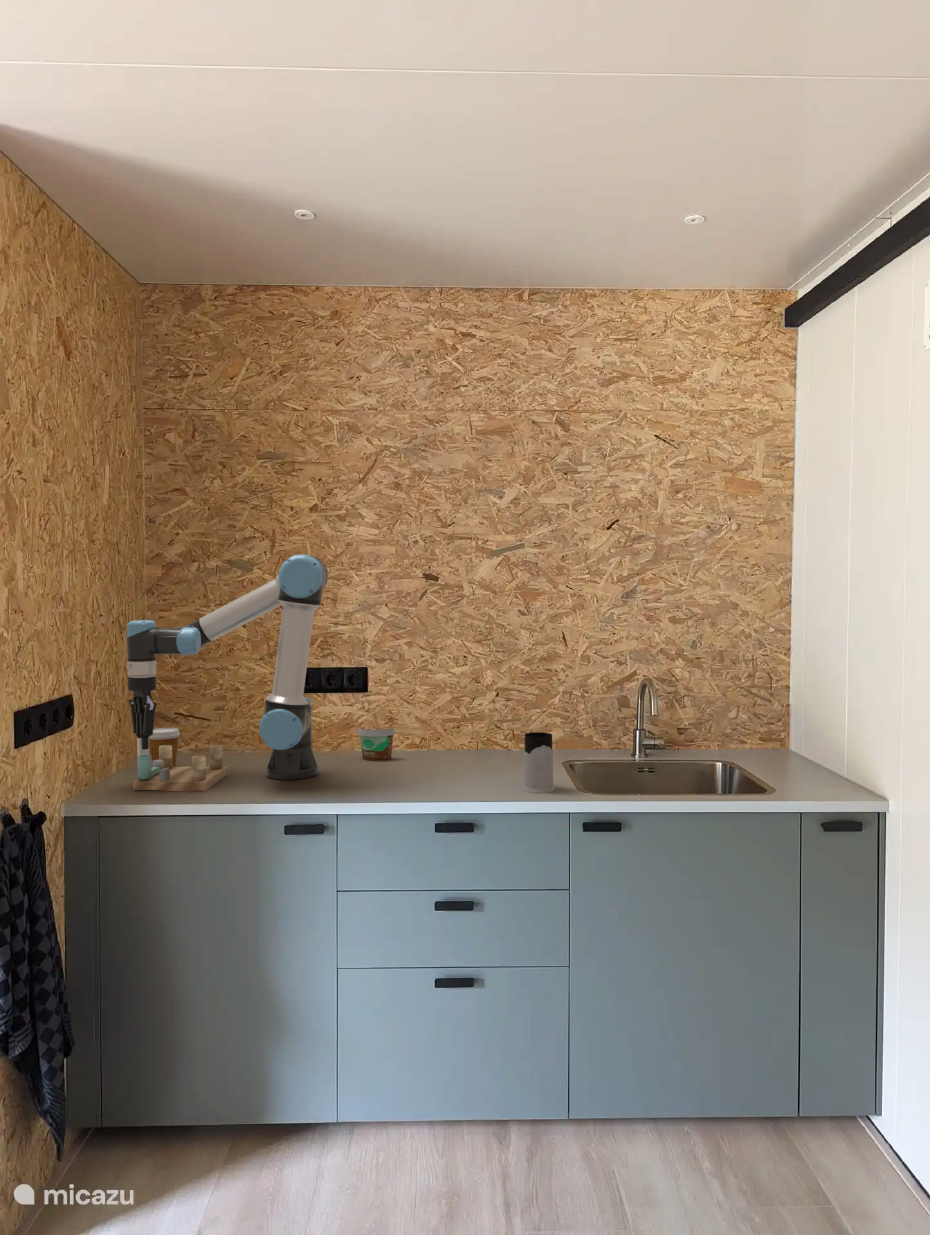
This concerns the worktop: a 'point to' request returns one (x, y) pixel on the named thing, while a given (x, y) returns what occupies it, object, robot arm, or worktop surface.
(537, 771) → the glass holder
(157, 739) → the disposable coffee cup
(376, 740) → the food container
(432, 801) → the worktop surface
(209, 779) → the stool seat
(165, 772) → the block
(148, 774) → the hinged leg
